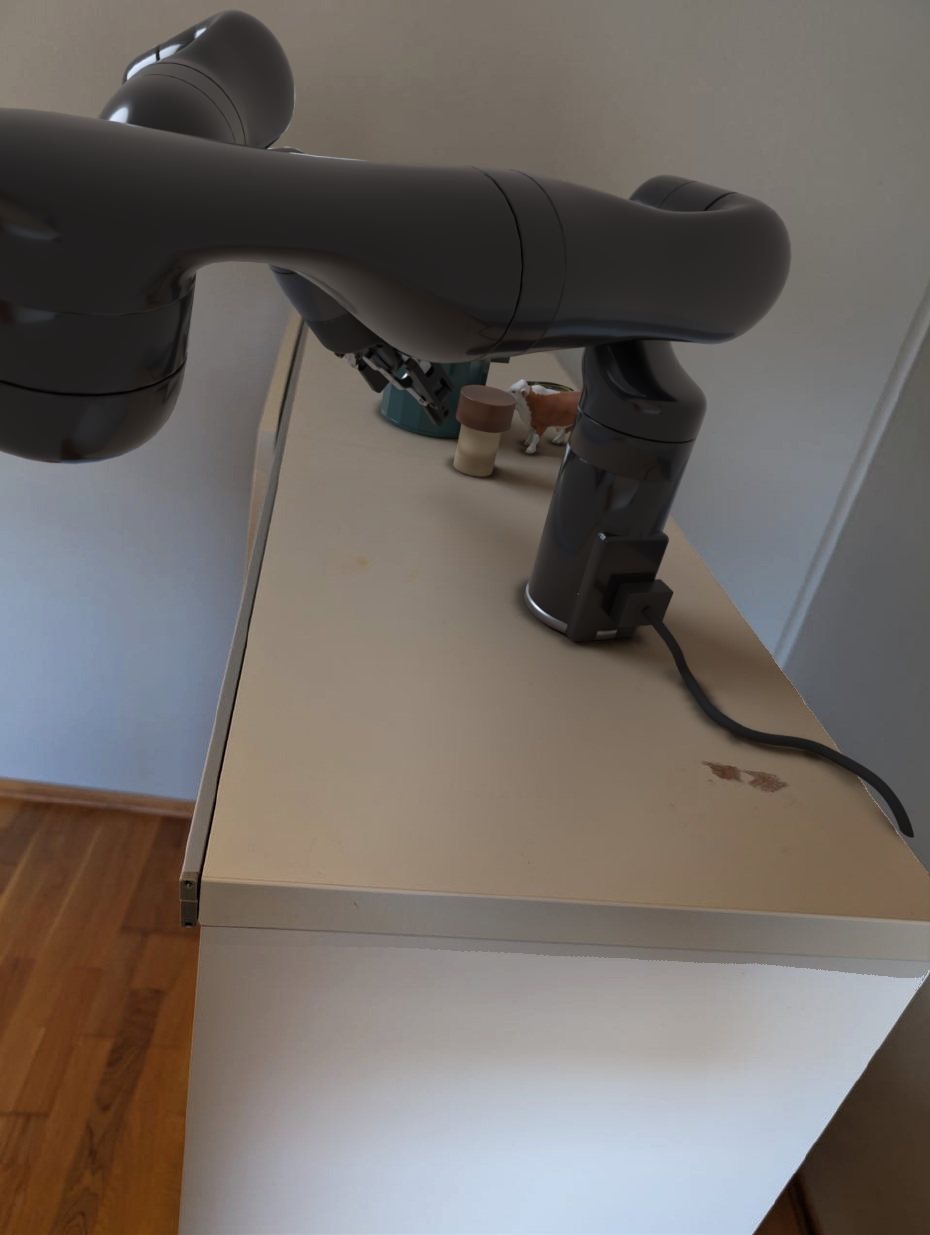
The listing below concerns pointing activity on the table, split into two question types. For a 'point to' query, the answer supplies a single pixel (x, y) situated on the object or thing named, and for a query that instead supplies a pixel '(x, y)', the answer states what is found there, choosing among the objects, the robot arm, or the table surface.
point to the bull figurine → (544, 410)
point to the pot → (412, 416)
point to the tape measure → (550, 386)
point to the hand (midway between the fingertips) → (413, 401)
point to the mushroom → (481, 427)
